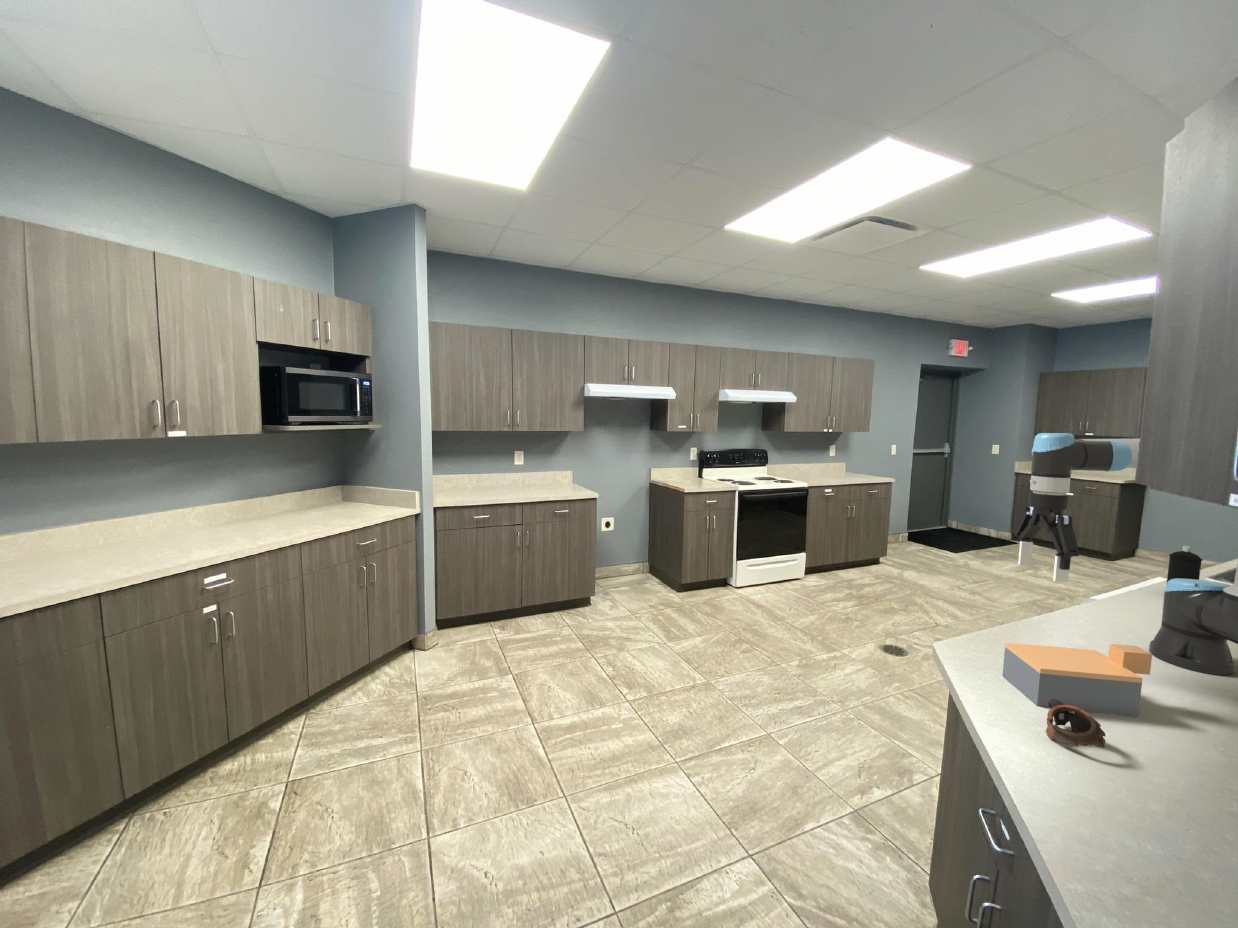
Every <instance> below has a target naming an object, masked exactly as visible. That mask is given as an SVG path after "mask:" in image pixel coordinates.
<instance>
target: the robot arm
mask: <svg viewBox="0 0 1238 928" xmlns="http://www.w3.org/2000/svg"><path fill="white" fill-rule="evenodd" d="M1140 438H1141V437H1140ZM1140 438H1075V435H1074V434H1073V433H1069V432H1067V433H1066V432H1065V433H1064V432H1062V433H1060V432H1056V433H1055V432H1053V433H1051V432H1050V433H1049V432H1041V433H1038V434H1036V435H1035V436H1034V440H1033V446H1032V448H1031V456H1032V459H1031V471H1030V472H1031V474H1030V475H1031V476H1030V480H1029V483H1030V486H1029V489H1030V490H1031V492H1029V493H1028V505H1029V506H1024V509H1023V514H1022V516H1021V519H1020V520H1019V523H1018V525H1017V527H1016V529H1015V531H1014V537H1016V538H1017V539H1018V541H1019V549H1018V550H1019V552H1018V562H1017V564H1018V565H1019V566H1032V562H1033V561H1032V560H1033V550H1034V549H1033V547H1034V539H1033V538H1034V537H1035V536H1036V535H1037V534H1038V533H1039V532H1040V530H1041V529H1044V530H1045V531H1046V532H1047V533H1048V534H1049V535H1050V538H1051V541H1052V543H1053V545H1054V547H1055V550H1056V552H1057V553H1055V554H1054V555H1055V556H1054V566H1053V567H1054V568H1053V574H1052V575H1053V577H1052V581H1053V582H1056V583H1057V582H1060V583H1069V574H1070V569H1071V560H1072V558H1074V557H1080V552H1079V547H1078V543H1077V539H1076V534H1075V531H1074V526H1073V516H1072V515H1062V511H1064V510H1067V509H1069V508H1068V507H1069V495H1068V494H1069V493H1070V489H1071V488H1070V487H1071V475H1072V471H1090V472H1092V471H1097V472H1118V471H1122V470H1125V469H1126V468H1128V467H1138V466H1137V462H1138V452H1139V442H1140ZM1166 584H1167V585H1165V589H1164V592H1163V594H1164V595H1163V606H1162V616H1161V617H1162V618H1161V625H1160V628H1159V630H1158V631H1157V633H1156V635H1155V636H1154V638H1153V639H1152V640H1151V641H1150V643H1149V646H1148V652H1149V653H1151V654H1152V656H1154V657H1156V658H1157V659H1159V660H1161V661H1164V662H1166V663H1169V664H1172V665H1174V666H1177V667H1181V668H1183V669H1188V670H1192V671H1195V672H1199V673H1204V674H1205V673H1206V674H1210V675H1217V676H1218V675H1219V676H1229V675H1233V674H1234V673H1235V667H1236V664H1235V661H1234V660H1233V657H1232V653H1231V650H1230V646H1229V644H1228V641H1229V642H1231V643H1235V644H1237V645H1238V562H1237V563H1236V569H1235V575H1234V580H1233V584H1232V585H1231V584H1228V583H1223V582H1217V581H1211V580H1203V579H1201V580H1200V579H1199V580H1195V579H1181V578H1176V579H1171V580H1169V581H1168V582H1167V581H1166Z"/></svg>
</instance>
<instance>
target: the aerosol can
mask: <svg viewBox="0 0 1238 928" xmlns="http://www.w3.org/2000/svg"><path fill="white" fill-rule="evenodd" d="M1191 549H1192V547H1191V546H1190V545H1182V549H1181V550H1179V551H1174V552H1172V553H1170V554H1168V556H1169V560H1168V561H1169V562H1168V570H1167V575H1166V577H1167V579H1166V585H1167V582H1168V581H1169V580H1171V579H1176V578H1181V579H1195V580H1200V577H1201V576H1200V575H1201V569H1202V567H1201V566H1202V562H1203V558H1201V557H1200V556H1199V555H1198V554H1196V553H1193V552H1191ZM1166 585H1165V586H1166Z"/></svg>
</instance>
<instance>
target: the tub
mask: <svg viewBox="0 0 1238 928" xmlns="http://www.w3.org/2000/svg"><path fill="white" fill-rule="evenodd" d="M1002 665H1003V667H1002V677H1003V678H1004V679H1005V680H1006V681H1007V682H1008V683H1010V684H1011V685H1012V686H1013V687H1014V688H1015V689H1017V690H1018V692H1020V693H1021V694H1023V695H1024V696H1025V697H1026V698H1027V699H1028V700H1030V702H1031V703H1033V704H1034V705H1035V706H1036V707H1043V708H1044V707H1046V708H1050V707H1049V704H1048V701H1049V700H1050V699H1053V698H1055V699H1058V700H1059V701H1061V702H1062V703H1063V704H1064V705H1071V706H1074V707H1078V708H1080V709H1082V710H1084V711H1086V712H1092V713H1102V714H1111V715H1119V716H1129V717H1130V716H1131V717H1139V712H1140V705H1141V697H1142V696H1141V695H1142V687H1143V682H1142V683H1137V682H1126V681H1116V680H1105V679H1094V678H1083V677H1073V676H1062V675H1051V674H1041V673H1039V672H1038V671H1036V670H1035V669H1034V668H1032V667H1031V666H1030V665H1028V664H1027V663H1026V662H1024V661H1023V660H1022V659H1020V658H1019V657H1018V656H1016V655H1015V654H1014V653H1012V652H1011V651H1010V650H1008V649H1007V648H1006V647H1005V646H1004V657H1003V664H1002Z"/></svg>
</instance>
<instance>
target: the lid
mask: <svg viewBox="0 0 1238 928" xmlns="http://www.w3.org/2000/svg"><path fill="white" fill-rule="evenodd" d="M1005 647H1006V648H1007V649H1008V650H1010V651H1011V652H1012V653H1014V654H1015V655H1016V656H1018V657H1019V658H1020V659H1022V660H1023V661H1024V662H1026V663H1027V664H1028V665H1030V666H1031V667H1032V668H1034V669H1035V670H1036V671H1038V672H1039V673H1041V674H1051V675H1062V676H1073V677H1083V678H1094V679H1105V680H1116V681H1126V682H1137V683H1142V684H1143V679H1144V678H1143V677H1142V676H1140V675H1148V676H1149V675H1151V667H1152V659H1153V655H1152V654H1151V653H1150V652H1149V651H1147V650H1145V649H1143V648H1141V647H1139V646H1137V645H1132V644H1131V645H1129V644H1115V643H1109V648H1108V649H1109V650H1108V656H1106V655H1105V654H1103V653H1101V652H1100V651H1098V650H1096V649H1086V648H1078V647H1077V648H1074V647H1063V646H1061V647H1060V646H1051V645H1050V646H1049V645H1042V644H1041V645H1039V644H1038V645H1037V644H1027V643H1017V642H1016V643H1015V642H1005V643H1004V648H1005Z"/></svg>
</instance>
